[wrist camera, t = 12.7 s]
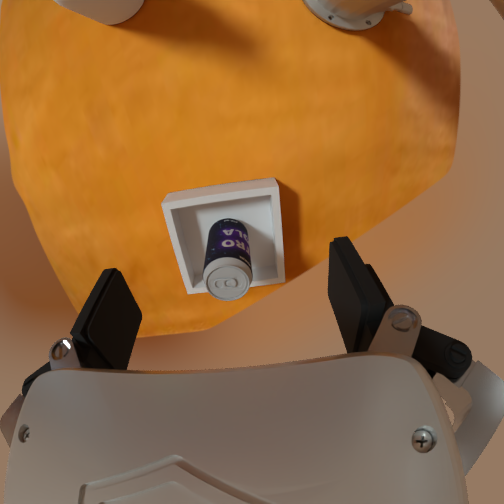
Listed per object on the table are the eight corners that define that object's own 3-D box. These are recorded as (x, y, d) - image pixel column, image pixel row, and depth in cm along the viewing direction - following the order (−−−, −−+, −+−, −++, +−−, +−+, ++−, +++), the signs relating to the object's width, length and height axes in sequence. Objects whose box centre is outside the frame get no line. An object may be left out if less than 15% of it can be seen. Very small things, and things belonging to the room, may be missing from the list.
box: (274, 177, 37) (278, 186, 33) (281, 267, 44) (285, 282, 41) (167, 193, 37) (161, 203, 33) (190, 278, 45) (187, 294, 41)
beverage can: (249, 248, 42) (254, 301, 31) (211, 251, 41) (206, 305, 31) (246, 213, 39) (251, 260, 28) (206, 217, 38) (197, 264, 28)
